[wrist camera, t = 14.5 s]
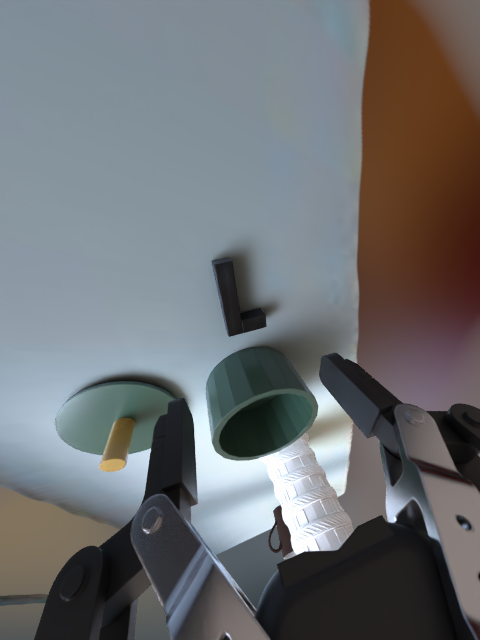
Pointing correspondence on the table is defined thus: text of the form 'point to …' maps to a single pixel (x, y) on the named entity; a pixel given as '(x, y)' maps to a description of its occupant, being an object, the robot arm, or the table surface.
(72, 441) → the tin lid
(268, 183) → the table surface
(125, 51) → the table surface
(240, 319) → the hex key
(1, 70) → the table surface
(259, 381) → the tin
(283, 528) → the coffee mug
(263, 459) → the decorative container
